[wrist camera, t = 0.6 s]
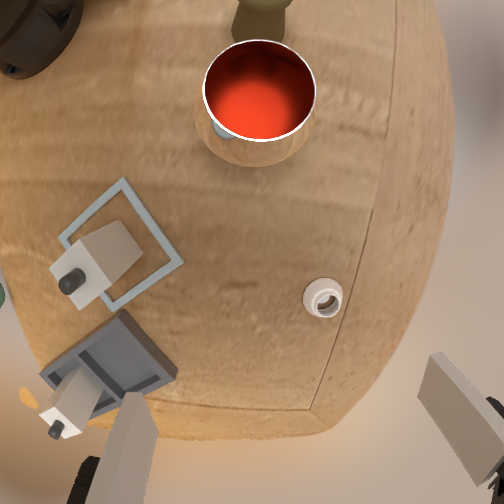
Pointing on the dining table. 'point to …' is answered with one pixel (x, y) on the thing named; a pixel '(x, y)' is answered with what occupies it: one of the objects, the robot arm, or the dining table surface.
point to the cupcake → (2, 295)
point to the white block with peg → (95, 263)
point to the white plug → (71, 404)
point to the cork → (260, 20)
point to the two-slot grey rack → (115, 362)
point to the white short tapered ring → (322, 297)
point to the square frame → (152, 226)
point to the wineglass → (255, 103)
